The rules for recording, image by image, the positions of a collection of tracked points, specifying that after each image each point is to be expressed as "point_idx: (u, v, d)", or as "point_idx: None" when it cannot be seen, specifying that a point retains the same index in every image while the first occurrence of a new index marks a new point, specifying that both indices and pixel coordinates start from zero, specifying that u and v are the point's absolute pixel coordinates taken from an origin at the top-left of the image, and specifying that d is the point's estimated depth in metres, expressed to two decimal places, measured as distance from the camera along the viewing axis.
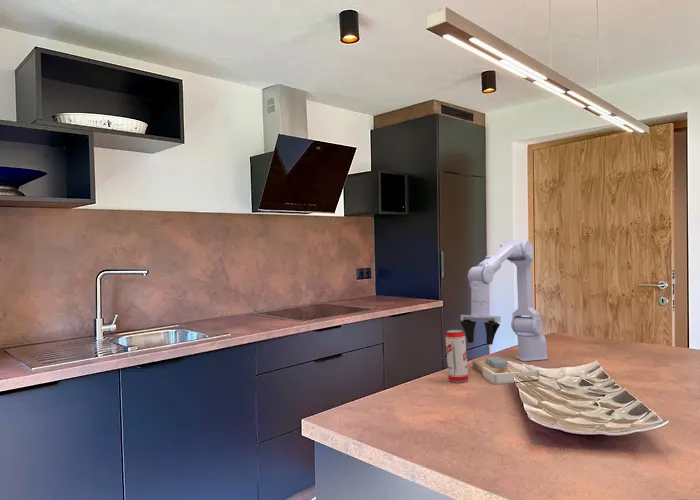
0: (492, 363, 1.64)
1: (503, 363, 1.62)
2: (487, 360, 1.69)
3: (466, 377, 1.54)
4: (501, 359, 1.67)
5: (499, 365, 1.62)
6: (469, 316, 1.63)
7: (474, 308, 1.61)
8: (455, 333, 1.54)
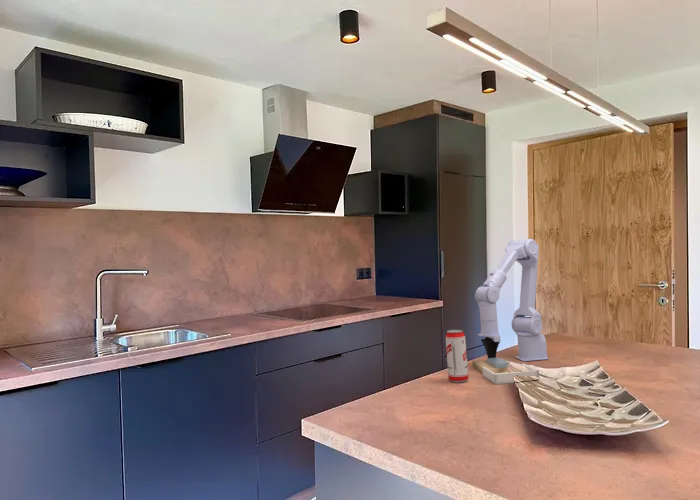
0: (493, 364, 1.63)
1: (504, 363, 1.61)
2: (488, 361, 1.68)
3: (466, 377, 1.54)
4: None
5: (500, 366, 1.61)
6: None
7: (481, 327, 1.71)
8: (455, 333, 1.54)
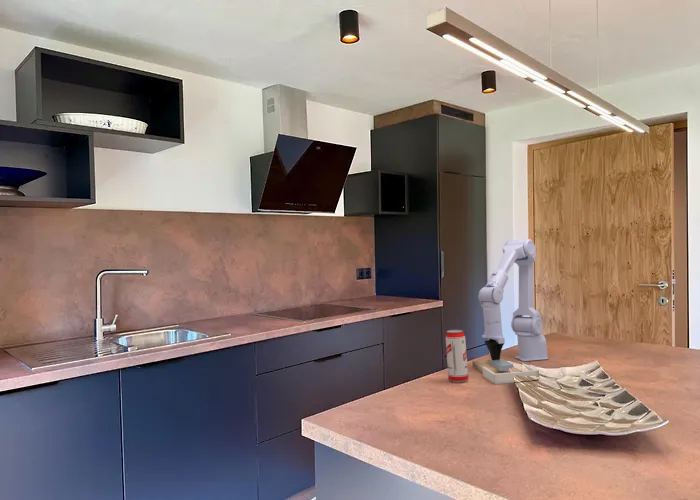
0: (497, 366, 1.59)
1: (508, 366, 1.58)
2: (492, 363, 1.64)
3: (466, 377, 1.54)
4: None
5: (504, 368, 1.57)
6: None
7: (485, 328, 1.67)
8: (455, 333, 1.54)
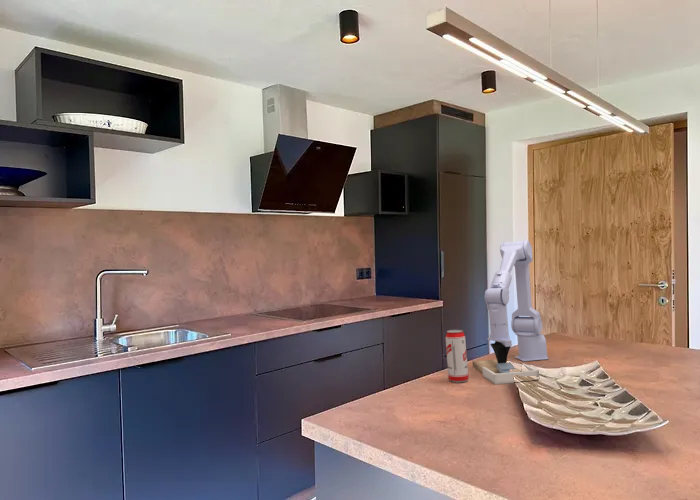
0: None
1: None
2: (498, 367, 1.59)
3: (466, 377, 1.54)
4: (513, 368, 1.56)
5: None
6: (490, 337, 1.64)
7: (491, 331, 1.61)
8: (455, 333, 1.54)
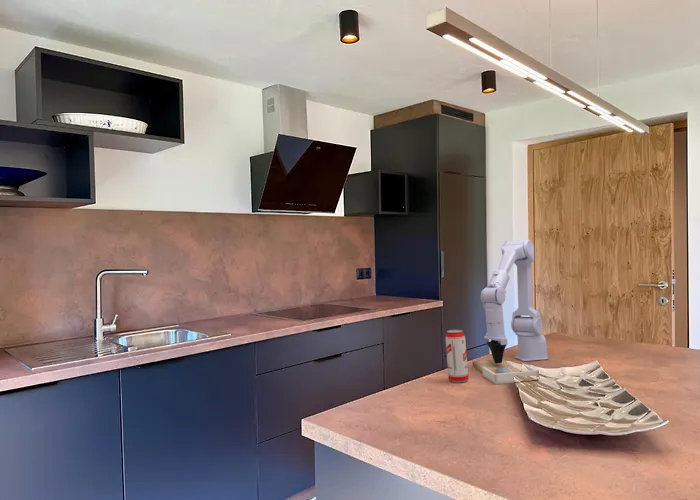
0: None
1: None
2: (499, 371, 1.58)
3: (466, 377, 1.54)
4: None
5: None
6: None
7: (487, 329, 1.65)
8: (455, 333, 1.54)
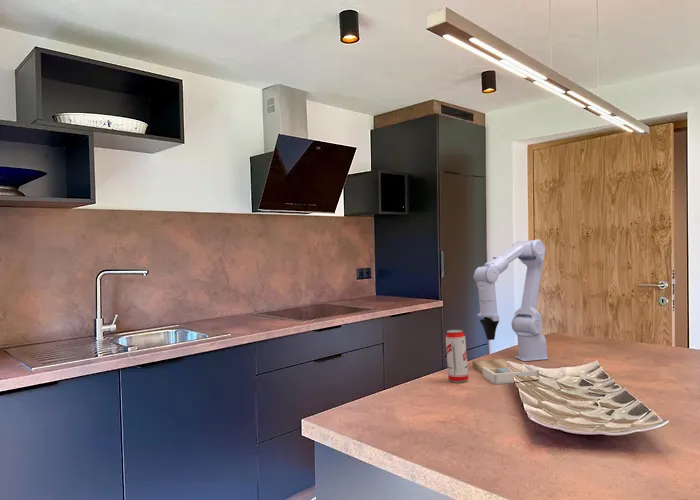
0: None
1: None
2: (499, 371, 1.58)
3: (466, 377, 1.54)
4: None
5: None
6: None
7: (480, 307, 1.71)
8: (455, 333, 1.54)
